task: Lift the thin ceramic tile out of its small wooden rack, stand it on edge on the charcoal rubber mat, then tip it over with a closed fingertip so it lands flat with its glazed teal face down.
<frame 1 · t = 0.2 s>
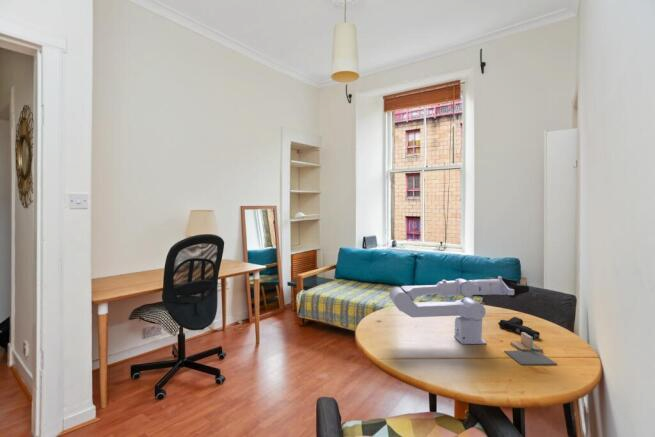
hand: (522, 286, 129), 21 cm above the table, tool horizontal, fingers open, 7 cm apart
mat: (529, 358, 115), on the table
tile: (526, 348, 123), resting in tile rack
handgun: (522, 331, 141), on the table
tile rack: (526, 347, 123), on the table
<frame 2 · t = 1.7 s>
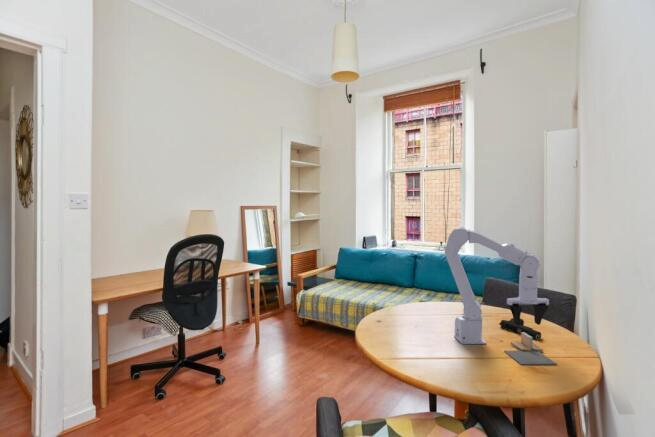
hand: (527, 323, 123), 9 cm above the table, tool pointing down, fingers open, 7 cm apart
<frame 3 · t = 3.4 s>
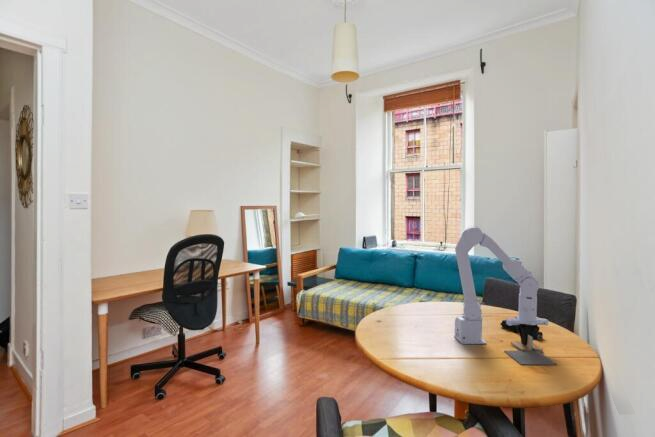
hand: (526, 344, 123), 1 cm above the table, tool pointing down, fingers closed on tile, 1 cm apart
tile: (526, 347, 123), resting in tile rack, touching gripper
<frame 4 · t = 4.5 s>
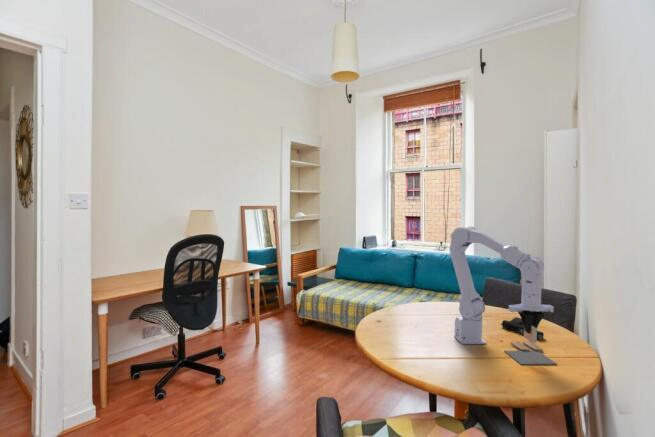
hand: (530, 332, 115), 9 cm above the table, tool pointing down, fingers closed on tile
tile: (530, 340, 115), point 6 cm above the table, touching gripper
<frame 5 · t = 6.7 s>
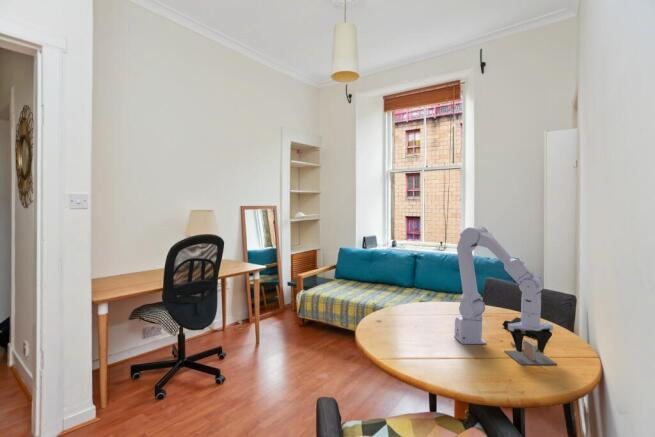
hand: (529, 350, 115), 3 cm above the table, tool pointing down, fingers open, 7 cm apart
tile: (529, 356, 115), resting on mat
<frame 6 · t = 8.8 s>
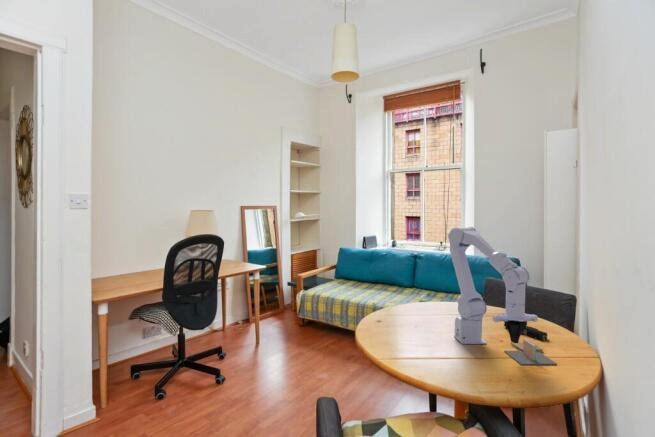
hand: (514, 342, 115), 6 cm above the table, tool pointing down, fingers closed
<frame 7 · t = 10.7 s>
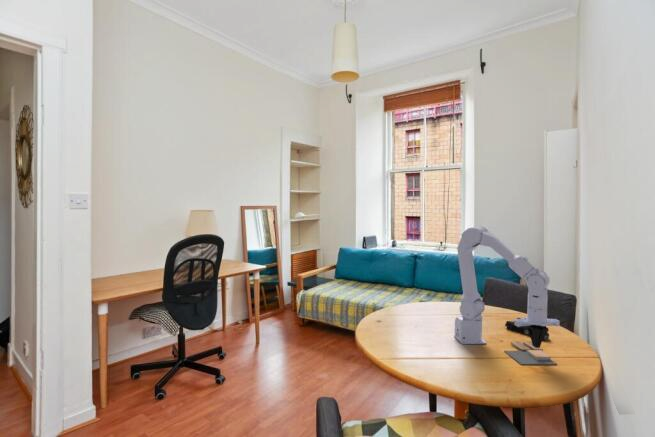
hand: (536, 346, 115), 4 cm above the table, tool pointing down, fingers closed
tile: (531, 355, 115), point 1 cm above the table, tilted 90°, touching mat
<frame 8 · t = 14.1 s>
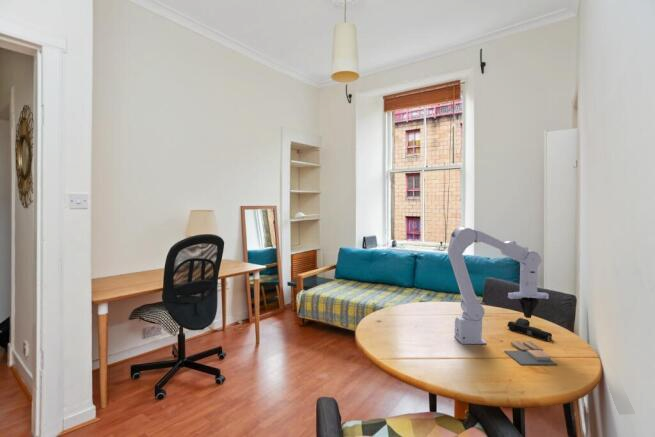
hand: (527, 317, 127), 10 cm above the table, tool pointing down, fingers closed
at the end: tile tilted 90°; tile inside the target area (0.7 cm from its centre), point 1.0 cm above the table; the gripper is holding nothing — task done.
